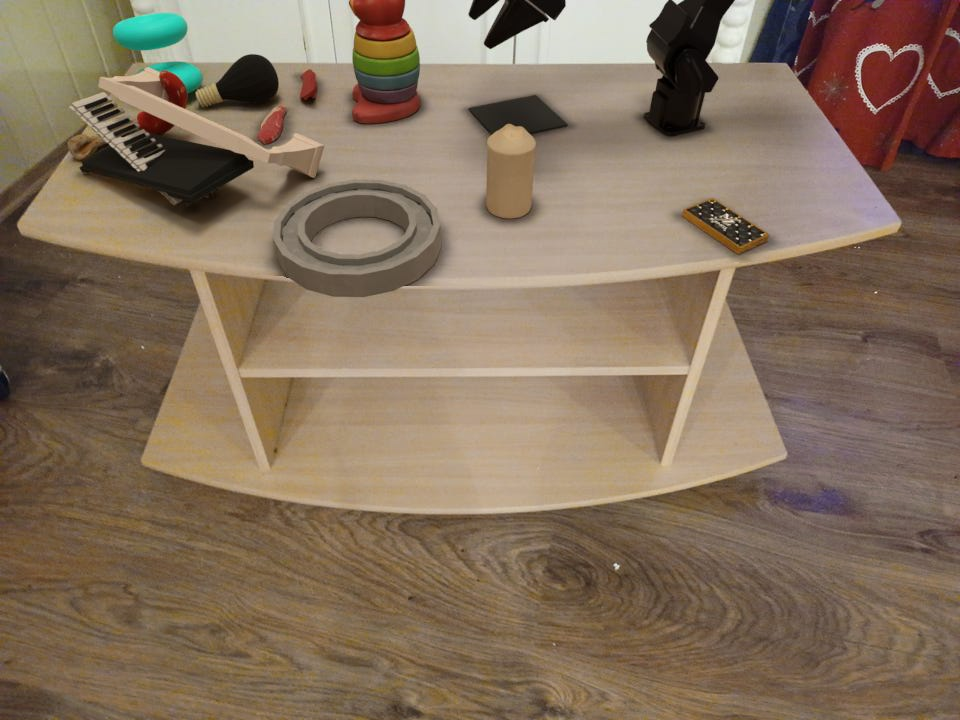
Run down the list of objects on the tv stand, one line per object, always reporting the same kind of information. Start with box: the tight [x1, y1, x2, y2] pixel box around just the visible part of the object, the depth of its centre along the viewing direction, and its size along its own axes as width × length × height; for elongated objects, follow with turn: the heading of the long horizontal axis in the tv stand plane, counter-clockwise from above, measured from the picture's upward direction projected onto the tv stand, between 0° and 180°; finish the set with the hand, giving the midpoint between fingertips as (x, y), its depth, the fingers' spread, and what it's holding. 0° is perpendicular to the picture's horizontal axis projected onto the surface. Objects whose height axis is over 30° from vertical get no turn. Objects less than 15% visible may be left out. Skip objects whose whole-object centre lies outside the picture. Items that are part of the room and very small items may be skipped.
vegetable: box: [136, 70, 188, 136], centre depth 96 cm, size 4×5×12 cm
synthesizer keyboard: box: [68, 91, 255, 208], centre depth 89 cm, size 22×10×10 cm, turn 57°
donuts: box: [112, 12, 204, 94], centre depth 105 cm, size 10×10×10 cm
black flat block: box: [681, 197, 771, 255], centre depth 86 cm, size 9×1×5 cm
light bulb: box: [195, 53, 280, 109], centre depth 105 cm, size 7×7×12 cm
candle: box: [485, 124, 537, 219], centre depth 85 cm, size 6×6×10 cm
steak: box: [256, 104, 287, 145], centre depth 102 cm, size 10×1×3 cm
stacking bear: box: [348, 0, 421, 125], centre depth 101 cm, size 11×10×18 cm
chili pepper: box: [299, 69, 318, 101], centre depth 109 cm, size 12×5×2 cm
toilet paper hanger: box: [97, 66, 325, 179], centre depth 89 cm, size 26×10×4 cm
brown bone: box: [67, 115, 138, 161], centre depth 100 cm, size 17×3×3 cm
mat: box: [468, 94, 569, 136], centre depth 105 cm, size 11×10×1 cm
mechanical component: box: [272, 178, 442, 298], centre depth 82 cm, size 18×18×3 cm
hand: (478, 31), depth 90 cm, fingers open, 9 cm apart
